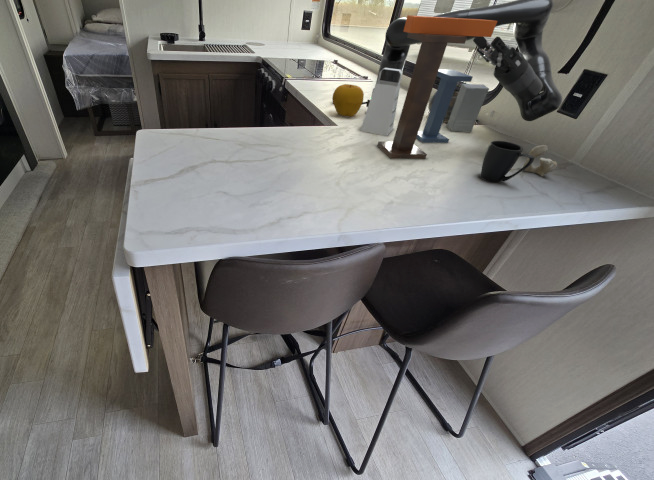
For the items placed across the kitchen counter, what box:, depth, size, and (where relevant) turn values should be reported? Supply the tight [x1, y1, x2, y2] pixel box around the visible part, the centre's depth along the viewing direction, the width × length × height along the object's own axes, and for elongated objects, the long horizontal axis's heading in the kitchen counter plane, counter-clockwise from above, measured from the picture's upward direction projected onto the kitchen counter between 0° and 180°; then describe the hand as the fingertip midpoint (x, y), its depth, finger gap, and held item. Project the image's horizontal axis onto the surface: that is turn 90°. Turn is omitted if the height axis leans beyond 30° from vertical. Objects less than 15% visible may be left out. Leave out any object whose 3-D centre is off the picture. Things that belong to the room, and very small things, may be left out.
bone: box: [522, 144, 558, 178], centre depth 104 cm, size 9×6×10 cm
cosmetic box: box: [446, 83, 490, 133], centre depth 134 cm, size 8×7×16 cm
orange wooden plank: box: [404, 14, 497, 38], centre depth 93 cm, size 24×4×4 cm, turn 97°
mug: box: [479, 140, 535, 183], centre depth 98 cm, size 8×12×10 cm
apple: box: [331, 83, 365, 118], centre depth 143 cm, size 13×13×11 cm
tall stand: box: [377, 33, 467, 160], centre depth 105 cm, size 12×12×32 cm
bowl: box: [427, 90, 459, 121], centre depth 147 cm, size 14×15×10 cm
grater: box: [359, 68, 403, 137], centre depth 127 cm, size 10×10×20 cm
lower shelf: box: [416, 68, 474, 144], centre depth 122 cm, size 10×12×21 cm
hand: (485, 38), depth 96 cm, fingers open, 8 cm apart
